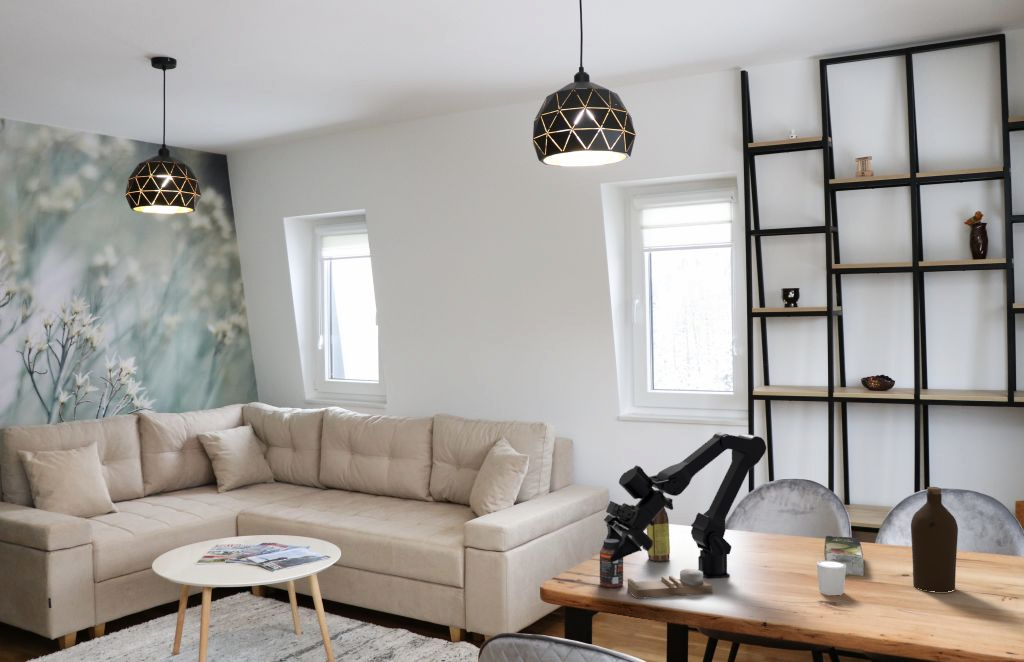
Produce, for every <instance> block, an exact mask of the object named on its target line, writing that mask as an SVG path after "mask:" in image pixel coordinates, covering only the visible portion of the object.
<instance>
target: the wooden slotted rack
mask: <svg viewBox="0 0 1024 662" xmlns="http://www.w3.org/2000/svg"><path fill="white" fill-rule="evenodd" d="M627 591H628V592H629V593H630V592H631V593H632V594H633V595H634V596H635V597H636V598H637V599H645V598H644V597H651V598H662V597H663V596H666V597H676V596H675V595H680V596H688V595H687V594H695V595H704V594H707V595H708V594H713V584H711V583H710V582H708V581H707V580H706V579H705V578H704V576H703V572H702V571H700V570H698V569H694V568H688V569H687V568H684V569H681V570H680V572H679V578H676V577H674V576H673V575H669V576H668V577H666V576H665V575H662V576H661V577H660V579H659V580H658V579H657V580H644V581H635V580H634V579H633V578H631V577H630V578H628V577H627ZM631 593H630V594H631ZM632 594H631V595H632ZM633 595H632V596H633ZM634 596H633V597H634ZM635 597H634V598H635Z"/></svg>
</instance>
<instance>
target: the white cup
mask: <svg viewBox="0 0 1024 662" xmlns="http://www.w3.org/2000/svg"><path fill="white" fill-rule="evenodd" d="M816 571H817V580H818V581H817V582H818V583H817V584H818V591H820V592H821V593H820V592H819V593H820V594H822V593H823V594H822V595H825V594H827V595H826V596H830V595H840V596H843V595H844V594H843V593H845V583H846V575H847V574H846V565H845V564H843V563H841V562H836V561H825V560H819V561H817V562H816ZM842 594H843V595H842Z"/></svg>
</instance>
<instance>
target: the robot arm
mask: <svg viewBox="0 0 1024 662" xmlns="http://www.w3.org/2000/svg"><path fill="white" fill-rule="evenodd" d="M726 450H731V463H730V466H729V467H728V469H727V471H726V473H725V475H724V476H723V477H724V478H723V479H722V482H721V483H720V486H719V487H718V490H717V491H716V494H715V496H714V498H713V500H712V501H711V503H710V506H709V508H708V509H707V511H705V512H704V513H701V512H698V513H697V514H696V516H695V519H694V521H693V523H691V525H690V526H691V531H690V535H691V537H692V540H693V541H694V542H695V544H696V545H697V548H698V549H700V551H699V556H698V557H697V558H698V561H697V564H698V567H697V568H698V569H697V570H700V571H702V572H703V577H704V578H706V579H713V578H729V577H730V576H731V575H730V574H729V572H728V555H730V553H731V551H732V545H731V544H730V543H729V542H728V541H727V540H726V539H724V536H725V533H726V519H727V517H728V514H729V513H730V510H731V509H732V506H733V504H734V501H735V500H736V498H737V496H738V493H739V491H740V489H741V487H742V485H743V483H744V481H745V480H746V478H747V476H748V473H749V472H750V470H751V469H752V468H753V467H754V466H756V465H757V464H758V463H760V461H761V459H762V458H763V457H764V455H765V453H766V451H767V445H766V442H765V440H764V439H763V438H762V437H761V436H757V435H754V434H749V433H748V434H747V433H742V434H738V435H731V434H727V433H723V432H715V433H714V435H713V436H712V437H711V438H710V439H709V440H708V441H706V442H705V443H703V444H702V445H701V446H700V447H698V448H697V449H696V450H695V451H693V452H692V453H691V454H690V455H688V456H687V457H686V458H685V459H684V460H682V461H680V462H679V463H677V464H673V465H670V466H667V467H665V468H664V469H662V470H661V471H659V472H658V473H657V474H656V475H652V476H651V475H650V476H649V475H648V474H647V473H646V472H645V471H644V469H643V468H642V467H641V466H640V465H638V464H637V465H634V467H632V468H630V469H628V470H627V471H625V472H624V473H623V474H622V475H621V476H620V478H619V479H618V484H619V485H620V486H621V487H622V488H623V489H624V490H625V491H626V493H627V494H629V495H630V497H632V498H633V499H634V500H638V499H640V500H638V502H637V503H636V504H635V505H633V504H628V503H625V502H624V503H622V504H619V503H617V502H615V501H612V500H610V501H609V503H608V506H607V508H606V510H605V513H607V516H605V518H603V522H605V525H606V527H607V534H606V537H605V539H617V540H619V546H618V547H617V548H616V550H615V551H614V553H613V554H612V556H611V558H610V560H611V561H612V562H614V561H616V560H619V559H621V558H623V559H624V558H625V557H627V556H630V555H632V554H634V553H637V552H642V550H644V551H646V552H647V551H649V550H650V549H651V548H652V547H653V541H652V540H651V539H650V538H649V537H648V536H647V533H646V532H645V531H646V530H647V527H648V526H649V525H651V526H653V525H654V524H655V523H654V522H653V520H654V519H655V517H656V516H657V515H658V514H659V513H660V511H661V510H662V509H663V508H665V509H668V510H670V511H673V510H674V505H673V501H674V500H673V498H671V497H666V496H665V494H667V495H670V496H673V497H676V496H679V495H681V494H682V493H683V492H684V491H685V490H686V489H687V488H688V486H689V485H690V484H691V482H692V479H693V478H694V476H695V475H697V474H698V473H699V472H700V471H702V469H704V468H705V467H706V466H707V465H709V464H710V463H711V462H713V461H714V460H715V459H716V458H718V457H719V456H720V455H721V454H723V452H725V451H726ZM653 488H657V489H659V490H660V491H662V492H664V493H665V494H662V493H661V492H660V491H657V492H656V491H655V490H654V489H653ZM603 547H604V545H603V544H602V547H601V549H602V548H603Z"/></svg>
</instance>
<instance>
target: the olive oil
mask: <svg viewBox="0 0 1024 662" xmlns="http://www.w3.org/2000/svg"><path fill="white" fill-rule="evenodd" d="M926 491H927V492H926V503H924V505H923V506H921V507H920V508H919V509H918V510H917V511H916V512H915V513H914V514H913V515H912V519H911V521H910V535H911V538H910V539H911V553H912V554H911V555H912V556H911V557H912V581H913V587H915V588H916V589H917V588H919V589H918V590H920V589H922V590H921V591H923V590H927V591H935V592H948V591H952V590H954V589H955V590H956V575H957V574H956V573H957V572H956V571H957V570H956V569H957V550H958V537H959V536H958V535H959V527H958V523H957V520H956V517H954V516H953V514H952V513H951V512H950V511H949V510H948V509H947V508H946V507H945V505H944V504H943V502H942V496H943V494H942V488H941V487H937V486H927V488H926ZM955 590H954V591H955ZM927 591H926V592H927Z"/></svg>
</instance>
